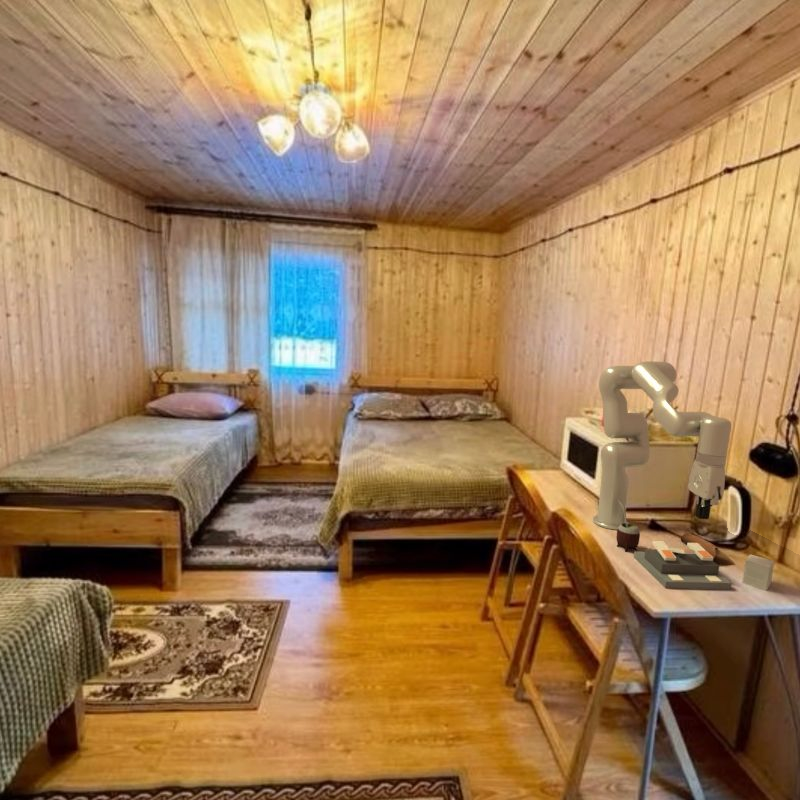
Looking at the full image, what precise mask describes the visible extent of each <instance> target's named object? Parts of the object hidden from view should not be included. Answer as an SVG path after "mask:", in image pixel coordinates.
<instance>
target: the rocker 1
mask: <svg viewBox="0 0 800 800" xmlns="http://www.w3.org/2000/svg"><path fill="white" fill-rule="evenodd" d="M652 546H654V548H655V549H657V551H658V552H659V554H660V556H662V557H663V558H664V560H671V561H676V557H675V555H674V554H673V553H672V552H671V550H670V549H669V548H670V547H669V546H668V545H667V544H666V543H665V541H663V540H652Z"/></svg>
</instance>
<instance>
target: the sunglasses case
mask: <svg viewBox="0 0 800 800" xmlns="http://www.w3.org/2000/svg"><path fill="white" fill-rule="evenodd" d="M680 541H681V542H682V543H684V544H685V545H687V543H698V544H699V545H700V546H701V547H702V548H704V549H705V550H706V551H707V552H708V553H709V554H710V555H711V556H712V557H713V561H714V562H715V563H716V564H718V565H719V566H736V564H735V562H734V561H733V560H732V559H731V558H730V557H728V556H727V555H726V554H725V553H723V552H722V551H721V550H720V549H719V547H717V546H716V545H715V544H713V543H711V542H710V541H708V540H706V539H704V538H702V537H701V536H698V535H694V534H692V533H686V532H685V533H683V534H682V535H681V537H680Z"/></svg>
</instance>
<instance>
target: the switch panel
mask: <svg viewBox="0 0 800 800" xmlns="http://www.w3.org/2000/svg"><path fill="white" fill-rule="evenodd" d="M644 550H645V551H633V558H634V559H635V560H636V561H637V563H639V564H640V565H641V566H642V567H643V568H644V569H645V570H646V571H647V572H648V573H649V574H650V575H651V576H652V577H653V578H654V579H655V580H656V581H657V582H659V583H660V585H662V586H663V588H664V589H689V590H691V589H693V590H731V589H732V588H731V587H732V582H730V581H729V580H728V579H727V578H726V577H724V576H723V575H722V574H720V573H719V572H720V565H718V564H716V563H715V562H714V561H709V560H701V559H700V558H699V557H696V556H695V554H686V555H687V556H678V553H676V552H672V553H673V554H674V555H675V557H676V561H671V560H664V558H663V557H662V556H660V554H659V552H658V551H657V549H656V548H655V549H653V548H652V549H649V548H645V549H644Z"/></svg>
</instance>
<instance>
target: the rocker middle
mask: <svg viewBox="0 0 800 800" xmlns="http://www.w3.org/2000/svg"><path fill="white" fill-rule="evenodd" d="M668 548H669V549H670V550H671V552H676V553H678V556H687V555H686V554H695V550H691V549H690V548H677V547H668Z"/></svg>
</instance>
